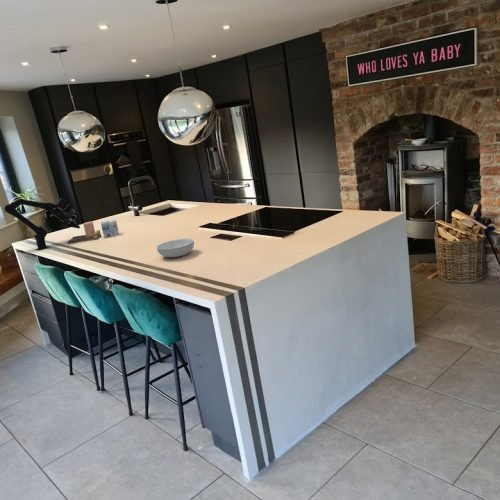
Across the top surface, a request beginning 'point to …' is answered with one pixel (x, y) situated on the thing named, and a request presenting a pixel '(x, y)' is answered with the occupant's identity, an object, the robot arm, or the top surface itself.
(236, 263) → the top surface
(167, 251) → the serving bowl
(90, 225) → the marker sleeve
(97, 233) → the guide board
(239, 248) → the top surface
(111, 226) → the light bulb box
